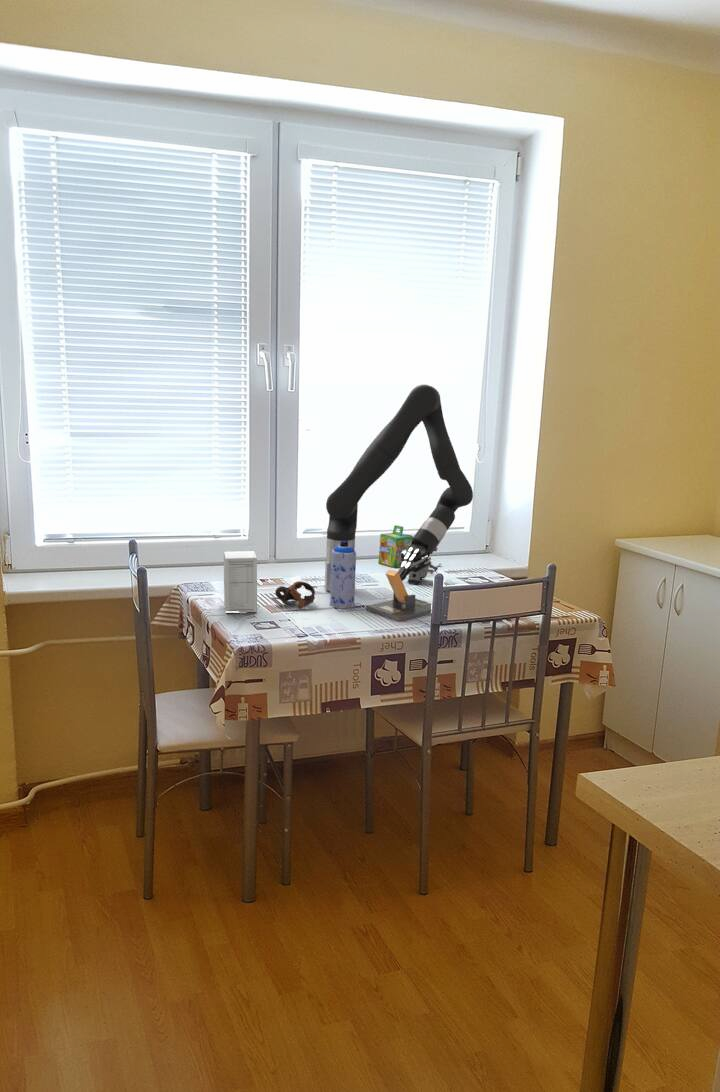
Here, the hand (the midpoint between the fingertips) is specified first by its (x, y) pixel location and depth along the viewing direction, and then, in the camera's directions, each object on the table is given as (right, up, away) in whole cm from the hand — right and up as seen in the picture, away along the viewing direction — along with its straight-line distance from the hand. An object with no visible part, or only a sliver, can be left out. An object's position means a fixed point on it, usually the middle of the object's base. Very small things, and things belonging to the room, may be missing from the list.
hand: (398, 579), depth 240 cm
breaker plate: (+2, -10, +4) cm, 11 cm away
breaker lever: (+2, -7, +4) cm, 8 cm away
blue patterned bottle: (-17, -8, +9) cm, 21 cm away
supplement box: (-47, -9, 0) cm, 48 cm away
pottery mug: (-31, -8, +6) cm, 33 cm away
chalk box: (+2, +3, +64) cm, 65 cm away
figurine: (+10, -3, +40) cm, 41 cm away
